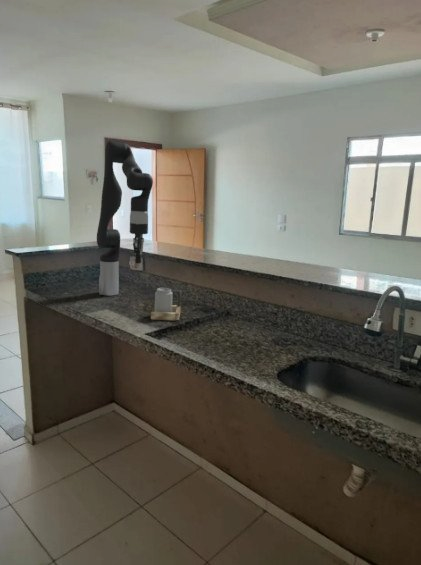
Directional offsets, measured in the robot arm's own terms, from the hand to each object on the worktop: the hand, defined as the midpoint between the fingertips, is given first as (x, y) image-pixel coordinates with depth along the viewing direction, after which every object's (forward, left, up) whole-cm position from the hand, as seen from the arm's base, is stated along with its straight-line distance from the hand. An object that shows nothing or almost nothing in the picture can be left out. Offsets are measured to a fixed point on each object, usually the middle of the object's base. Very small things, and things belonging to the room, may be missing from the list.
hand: (138, 263), depth 172 cm
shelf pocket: (+13, 0, -23) cm, 26 cm away
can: (+11, 0, -23) cm, 26 cm away
